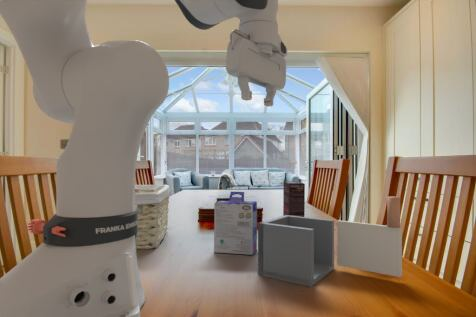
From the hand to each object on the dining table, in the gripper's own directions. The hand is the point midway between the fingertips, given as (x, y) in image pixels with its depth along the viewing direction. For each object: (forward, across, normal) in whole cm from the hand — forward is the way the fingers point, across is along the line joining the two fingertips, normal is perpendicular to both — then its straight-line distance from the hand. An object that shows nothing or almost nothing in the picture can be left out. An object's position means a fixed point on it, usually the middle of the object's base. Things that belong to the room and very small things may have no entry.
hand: (258, 103), depth 74 cm
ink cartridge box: (+35, +3, +8) cm, 36 cm away
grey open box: (+35, -2, -10) cm, 37 cm away
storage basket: (+35, -3, +38) cm, 52 cm away
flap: (+34, +4, -23) cm, 41 cm away
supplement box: (+35, +27, +4) cm, 45 cm away
